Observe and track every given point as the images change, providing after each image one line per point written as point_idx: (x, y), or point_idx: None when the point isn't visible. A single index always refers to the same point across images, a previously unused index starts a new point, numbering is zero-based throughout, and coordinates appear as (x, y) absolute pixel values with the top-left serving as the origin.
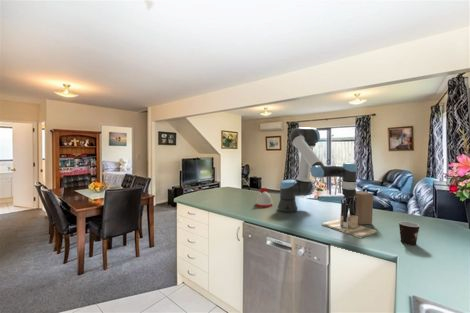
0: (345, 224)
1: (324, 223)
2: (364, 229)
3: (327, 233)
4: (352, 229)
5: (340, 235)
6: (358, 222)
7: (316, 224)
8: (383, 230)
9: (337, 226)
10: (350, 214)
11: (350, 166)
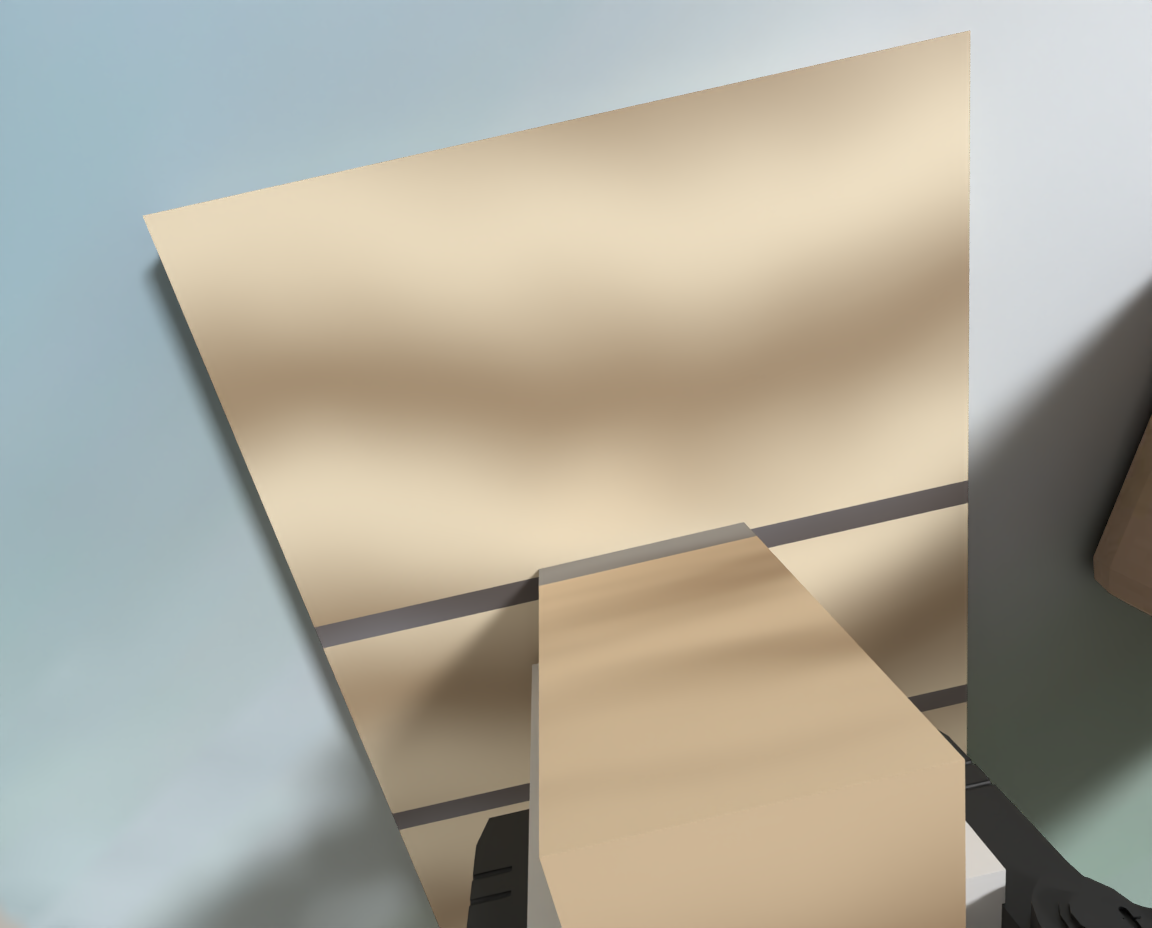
0: None
1: (210, 267)
2: None
3: (3, 719)
4: None
5: (220, 848)
6: (1136, 562)
7: (27, 95)
8: (1129, 865)
9: (423, 589)
10: (1005, 916)
11: None
